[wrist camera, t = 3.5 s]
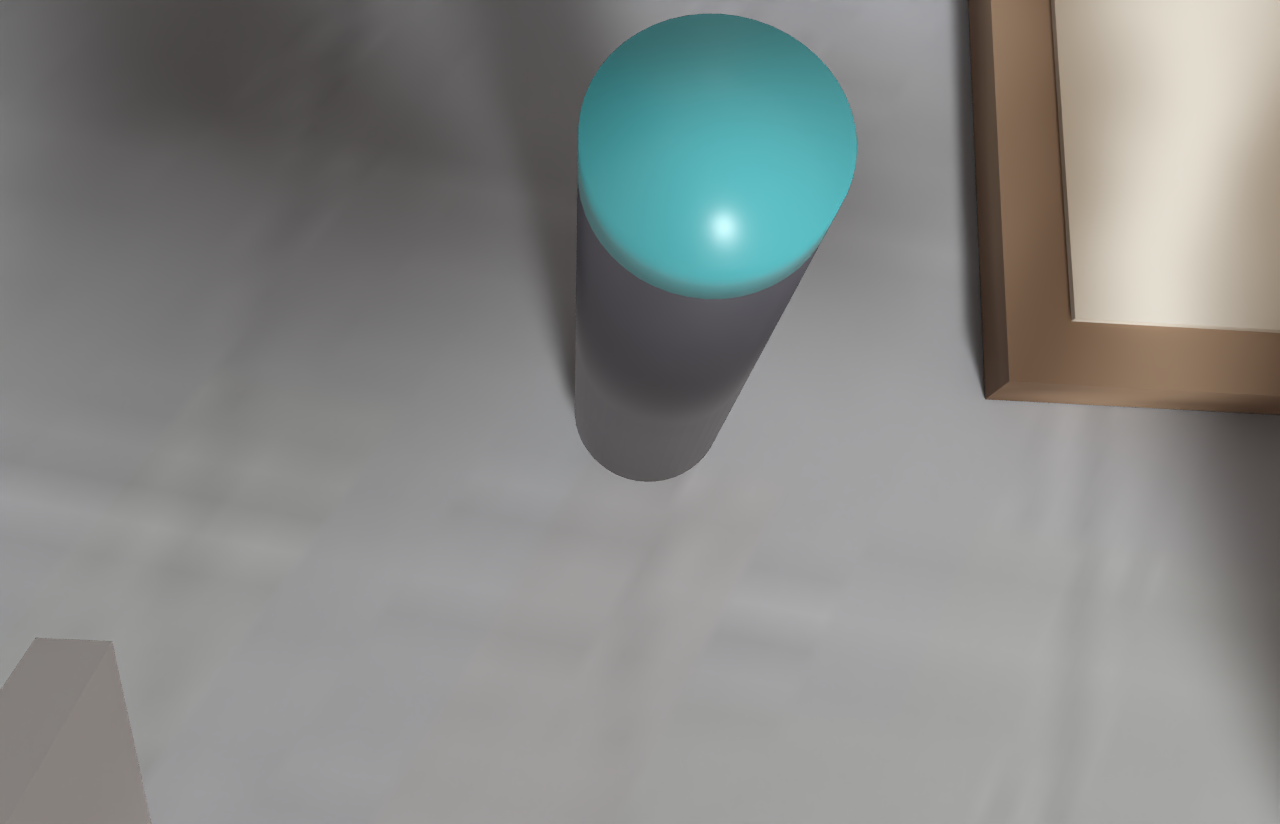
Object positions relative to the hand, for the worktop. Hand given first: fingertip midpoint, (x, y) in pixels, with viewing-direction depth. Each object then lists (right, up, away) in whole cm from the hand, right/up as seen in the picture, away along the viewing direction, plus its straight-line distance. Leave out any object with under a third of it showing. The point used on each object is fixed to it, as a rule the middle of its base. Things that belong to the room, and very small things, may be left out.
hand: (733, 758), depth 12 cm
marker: (-1, +4, +13) cm, 14 cm away
